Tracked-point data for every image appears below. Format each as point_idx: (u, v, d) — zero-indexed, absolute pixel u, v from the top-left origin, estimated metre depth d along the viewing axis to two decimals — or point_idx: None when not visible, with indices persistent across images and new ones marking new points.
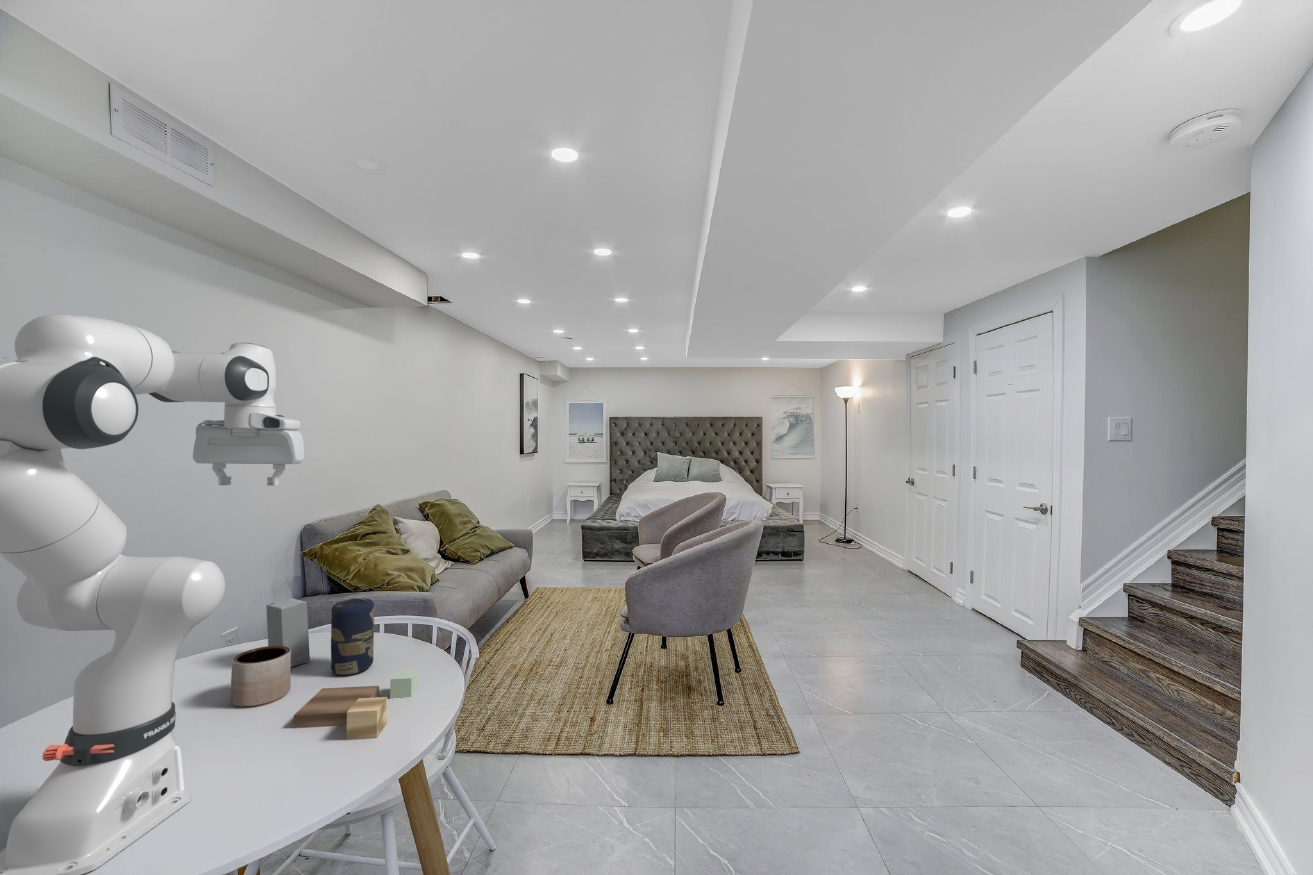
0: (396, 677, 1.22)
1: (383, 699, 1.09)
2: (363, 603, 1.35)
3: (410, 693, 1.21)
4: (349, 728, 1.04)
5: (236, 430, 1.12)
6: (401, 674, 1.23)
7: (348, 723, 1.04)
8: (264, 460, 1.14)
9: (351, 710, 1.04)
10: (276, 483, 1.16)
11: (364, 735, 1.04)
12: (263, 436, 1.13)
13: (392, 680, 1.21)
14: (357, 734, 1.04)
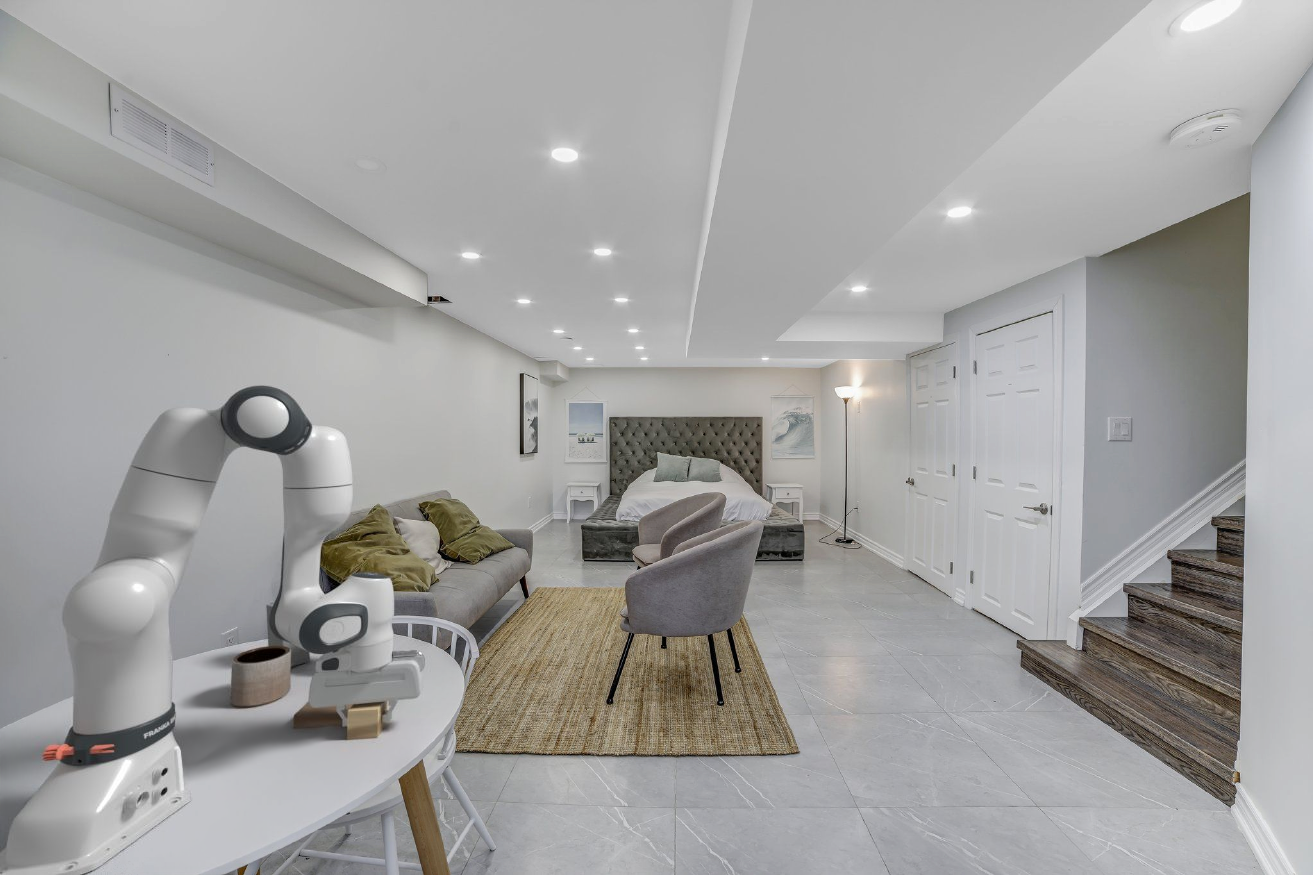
0: None
1: None
2: None
3: None
4: (350, 727, 1.04)
5: None
6: None
7: (349, 722, 1.04)
8: None
9: (352, 709, 1.04)
10: None
11: (365, 734, 1.04)
12: None
13: None
14: (358, 733, 1.04)
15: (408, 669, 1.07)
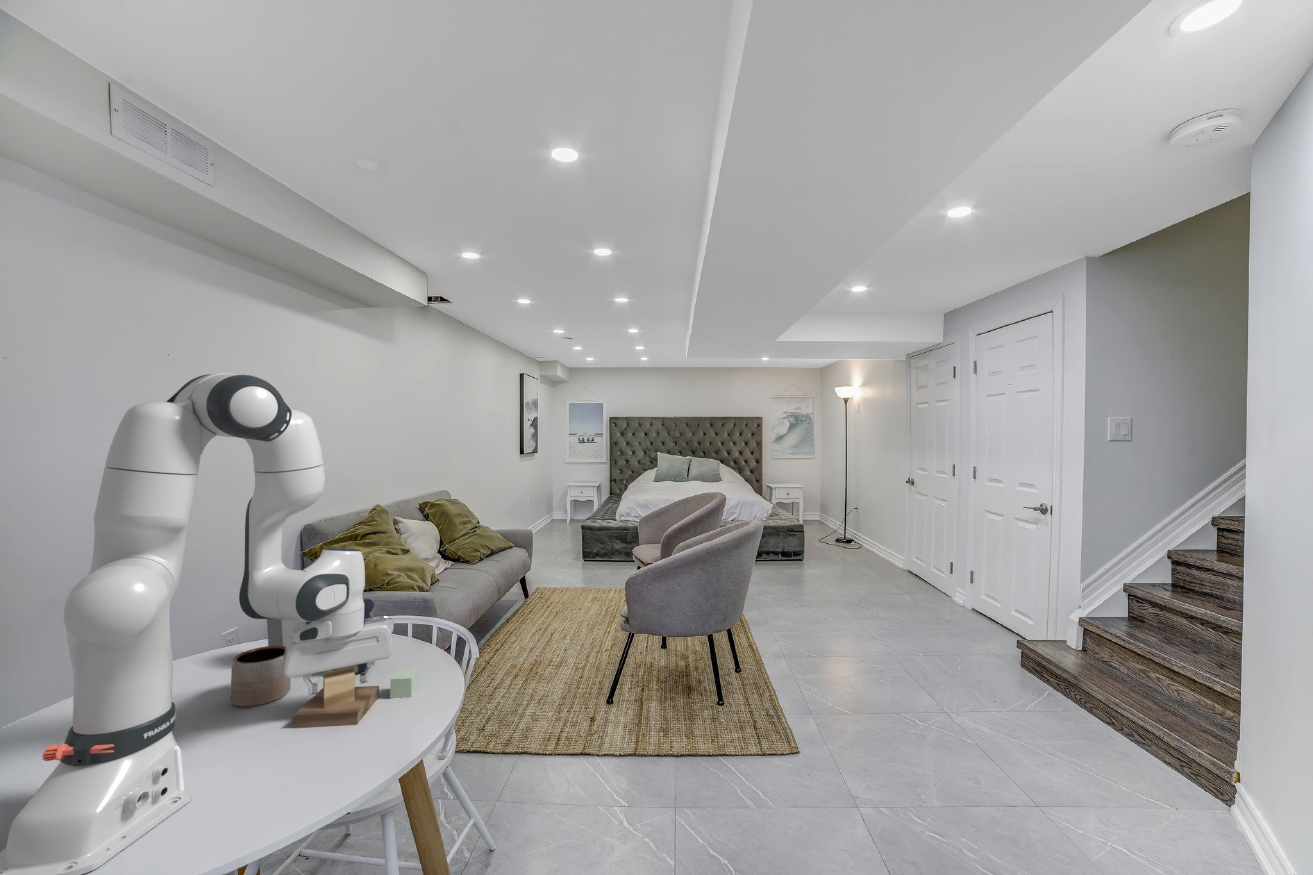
0: (396, 677, 1.22)
1: (351, 668, 1.17)
2: None
3: (410, 693, 1.21)
4: (327, 696, 1.11)
5: None
6: (401, 674, 1.23)
7: (326, 692, 1.11)
8: None
9: (328, 680, 1.12)
10: None
11: (342, 700, 1.13)
12: None
13: (392, 680, 1.21)
14: (335, 701, 1.12)
15: (381, 632, 1.18)
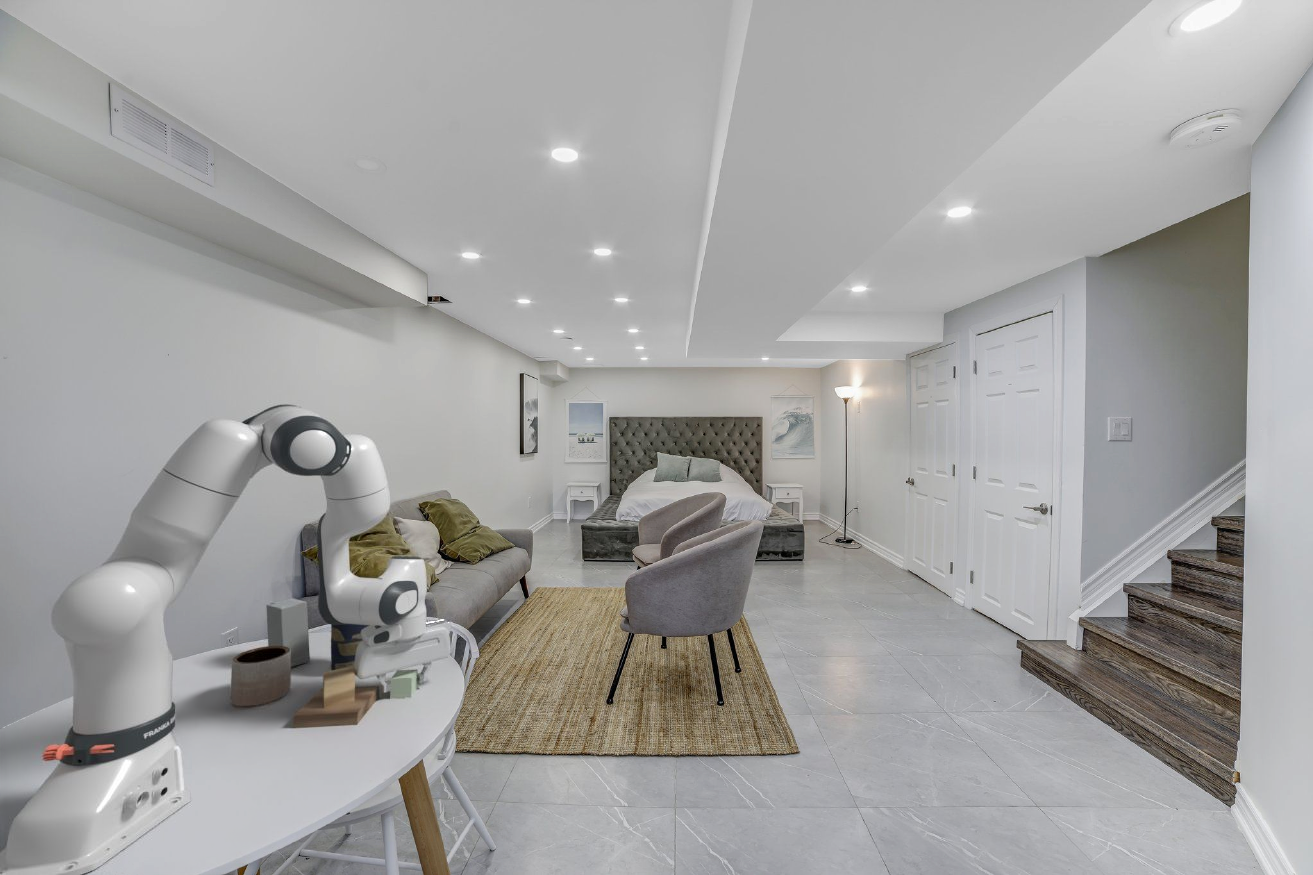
0: (396, 676, 1.22)
1: (351, 668, 1.17)
2: None
3: (410, 692, 1.21)
4: (327, 696, 1.11)
5: None
6: (401, 673, 1.23)
7: (326, 692, 1.11)
8: None
9: (328, 680, 1.12)
10: (382, 690, 1.20)
11: (342, 700, 1.13)
12: None
13: (392, 680, 1.21)
14: (335, 701, 1.12)
15: (441, 633, 1.27)
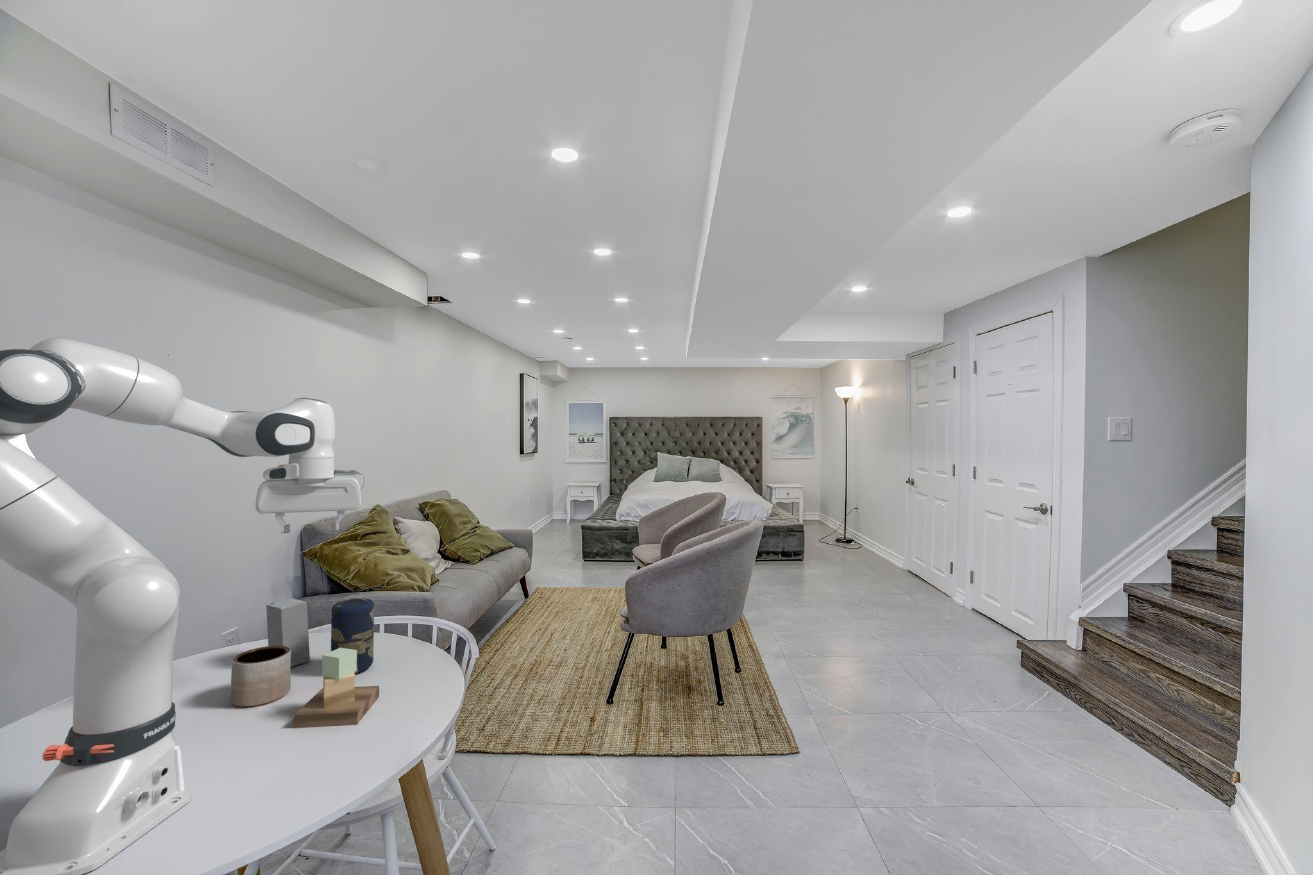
0: (329, 654, 1.14)
1: None
2: (363, 603, 1.35)
3: (338, 674, 1.12)
4: (327, 696, 1.11)
5: None
6: (337, 652, 1.15)
7: (326, 692, 1.11)
8: None
9: (328, 680, 1.12)
10: None
11: (342, 700, 1.13)
12: None
13: (323, 657, 1.13)
14: (335, 701, 1.12)
15: (349, 483, 1.23)
